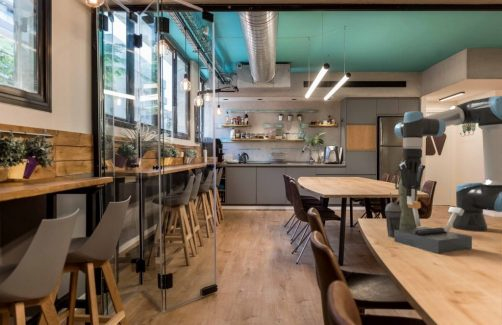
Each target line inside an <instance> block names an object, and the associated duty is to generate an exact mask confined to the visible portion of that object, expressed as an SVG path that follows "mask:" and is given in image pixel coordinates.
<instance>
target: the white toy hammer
mask: <svg viewBox="0 0 502 325" xmlns="http://www.w3.org/2000/svg"><path fill="white" fill-rule="evenodd" d="M447 212H448V213H449V214H450V217H449V219H448V221H447V223H446V225H445V227H444V228H445V229H444V231H445V232H447V233H449V232H451V228H452V227H453V222H454V220H455V218H456V216H457V215H459V216H462V215H463V213H464V210H463V209H462V208H457V207H456V206H449V209H448V211H447Z"/></svg>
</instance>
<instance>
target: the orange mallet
mask: <svg viewBox="0 0 502 325" xmlns="http://www.w3.org/2000/svg"><path fill="white" fill-rule="evenodd" d="M408 207H409V208H413V213H414V218H415V223H416V226H417V227H422V225H421V220H420V214H419V209H421V208H422V204H421V201H417V200H416V201H414V205H411V204H408Z"/></svg>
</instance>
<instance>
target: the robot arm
mask: <svg viewBox="0 0 502 325" xmlns="http://www.w3.org/2000/svg"><path fill="white" fill-rule="evenodd" d="M469 124H470V125H471V124H472V125H473V124H477V125H478V128H479V129H481V134H482V149H483V150H482V151H483V152H482V153H483V165H484V166H483V167H484V171H483V172H484V180H483V181H482V182H471V183H459V184H457V186H456V191H455V193H456V195H455V196H456V197H455V201H456V203H455V204H456V206H455V207H457V208H462V209H463V210H464V213H463V215H462V216H459V215H457V216H456V218H455V220H454V222H453V224H452V228H453V229H457V230H461V231H462V230H463V231H471V232H474V231H475V232H478V231H479V232H485V231H487V230H488V224H487V220H486V219H485V216H484V211H492V212H497V213H502V95H494V96H489V97H488V96H487V97H484V98H479V99H471V100H468V101H465V102H463V103H462V102H461V103H459V104H457V105H454V106H451V107H449V108H448V109H446V110H444V111H439V112H437V113H434V114H433V113H432V114H429V115H426V116H424V112H422V111H417V110H416V111H415V110H414V111H413V110H411V111H406V112H405V113H404V116H403V121H401V122H398V123H397V124H396V125H395V127H394V135H395V136H396V138H397V137H398V138H400V139H402V148H403V149H402V158H403V159H402V161H403V163H402V164H400V163H399V164H398V165H397V166H398V169H400V171H399V174H400V173H401V179H402V186H403V187H404V188H406V189H407V191H406V192H407V193H406V195H407V204H411V205H414V199H415V193H416V189H418V187H420V188H421V183H422V180H423V179H422V178H423V175H424V174H423V173H424V170H425V168H426V165H423V164H422V161H421V159H422V158H423V140H424V139H423V138H424V137H432V138H433V137H435V138H436V137H441V136H443V135H444V133H445V132H446V129H447V127H450V126H460V125H469ZM409 170H410V171H409ZM414 170H415V171H414Z"/></svg>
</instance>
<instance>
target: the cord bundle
mask: <svg viewBox="0 0 502 325" xmlns="http://www.w3.org/2000/svg"><path fill="white" fill-rule="evenodd" d="M430 228H431V229H421V230H415V231H414V232H415V234H419V235H423V234H433V233H442V232H445V231H444V229H445V227H444V228H443V227H430Z"/></svg>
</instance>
